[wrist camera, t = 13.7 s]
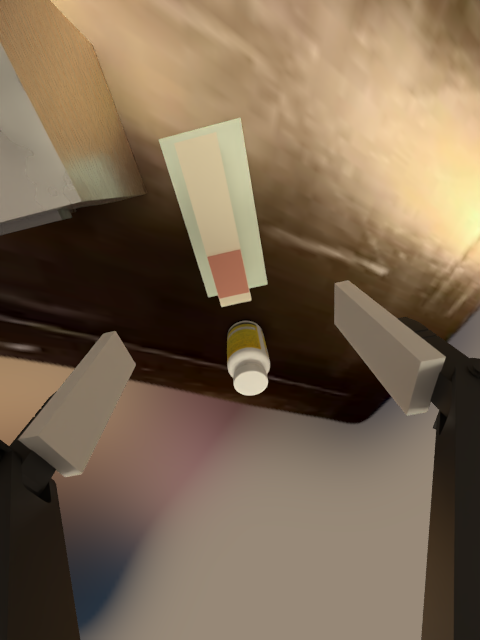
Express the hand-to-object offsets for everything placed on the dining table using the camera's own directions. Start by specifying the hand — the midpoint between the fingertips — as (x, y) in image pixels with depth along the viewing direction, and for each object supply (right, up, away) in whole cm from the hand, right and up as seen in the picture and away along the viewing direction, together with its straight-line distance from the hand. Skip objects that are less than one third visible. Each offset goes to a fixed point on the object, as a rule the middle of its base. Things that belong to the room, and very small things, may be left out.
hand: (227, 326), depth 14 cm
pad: (-1, +12, +12) cm, 17 cm away
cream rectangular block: (-1, +12, +12) cm, 17 cm away
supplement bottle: (+1, -2, +21) cm, 21 cm away
